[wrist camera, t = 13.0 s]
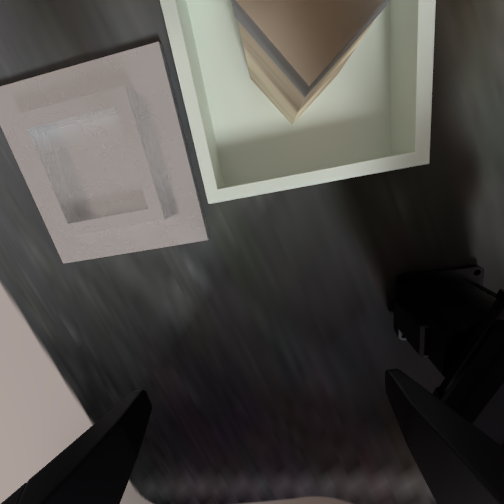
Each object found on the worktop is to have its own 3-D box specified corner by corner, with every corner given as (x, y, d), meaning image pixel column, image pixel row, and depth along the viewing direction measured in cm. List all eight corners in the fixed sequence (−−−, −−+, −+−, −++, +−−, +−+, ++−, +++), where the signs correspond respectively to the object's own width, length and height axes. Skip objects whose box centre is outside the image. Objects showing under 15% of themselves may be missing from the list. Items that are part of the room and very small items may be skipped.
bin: (395, -82, 14) (442, -178, 10) (395, 165, 18) (429, 163, 14) (174, -13, 16) (142, -72, 12) (220, 197, 20) (208, 203, 16)
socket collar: (162, 45, 17) (147, 28, 15) (209, 238, 21) (203, 245, 19) (-7, 93, 18) (-41, 84, 16) (68, 261, 23) (49, 269, 21)
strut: (295, 21, 15) (320, -135, 7) (338, 74, 15) (402, -18, 8) (249, 79, 16) (230, -4, 8) (292, 126, 17) (309, 88, 9)
